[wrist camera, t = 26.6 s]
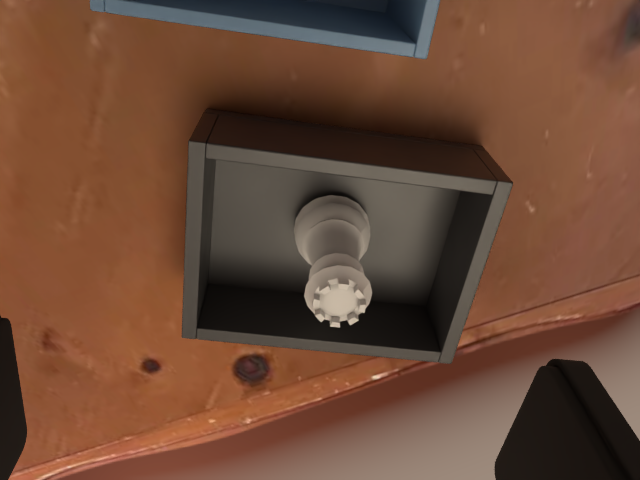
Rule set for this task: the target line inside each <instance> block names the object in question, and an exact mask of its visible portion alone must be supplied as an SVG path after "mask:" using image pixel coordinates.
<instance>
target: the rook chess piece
mask: <svg viewBox="0 0 640 480" xmlns="http://www.w3.org/2000/svg"><path fill="white" fill-rule="evenodd" d="M294 234H295V241H296V245H297V248H298V251H299V253H300V254H301V256H302V257H303V258H304V259H305V260H306V261H307V262H308V263H309V264H310V265H312V267H311V269H310V273H309V281H308V283H307V284H306V288H305V294H304V297H305V300H306V303H307V306H308V308H309V309H310V310H311V311H312V312H313V313H314V314H315V316H316V317H317V319H318V320H319V321H320V322H322V321H323V320H324V319H325V320H329V321H330V327H339V328H340V321H345V320H348V322H349V324H350V325H352V324H354V323H355V322H357V321H359V319H358V315H359V314H361V313H365V309H366V307H367V306H368V305H369V303H370V300H371V296H372V289H371V285H370V281H369V280H368V279H367V278H366V277H365V275H364V271H363V267H362V266H361V264H360V263H359V260H360V259H361V258H362V256H363V255H364V254H365V252H366V251H367V248H368V244H369V240H370V225H369V221H368V216H367V214H366V213H365V211H364V210H363V209H362V208H361V206H360V205H359V204H358V203H356V202H354V201H352V200H350V199H349V198H347V197H342V196H334V195H329V196H324V197H320V198H316V199H314V200H313V201H311V202H310V203H308V204H307V205H305V206H304V207H303V208H302V210H301V211H300V213H299V214H298V216H297V217H296V220H295V227H294Z"/></svg>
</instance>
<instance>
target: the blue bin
mask: <svg viewBox="0 0 640 480" xmlns="http://www.w3.org/2000/svg"><path fill="white" fill-rule="evenodd" d="M439 3H440V0H90V9H91V10H92V11H98V12H106V13H112V14H119V15H125V16H132V17H139V18H146V19H153V20H160V21H167V22H174V23H180V24H187V25H194V26H201V27H208V28H215V29H222V30H229V31H235V32H242V33H249V34H256V35H263V36H270V37H277V38H283V39H290V40H297V41H304V42H311V43H318V44H325V45H332V46H338V47H345V48H352V49H359V50H366V51H373V52H380V53H386V54H393V55H400V56H407V57H415V58H421V59H426V58H427V56H428V51H429V47H430V42H431V38H432V34H433V29H434V25H435V21H436V16H437V12H438V8H439Z"/></svg>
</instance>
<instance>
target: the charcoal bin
mask: <svg viewBox="0 0 640 480" xmlns="http://www.w3.org/2000/svg"><path fill="white" fill-rule="evenodd" d="M512 186H513V182H512V181H511V180H510V178H509V177H508V176H507V175H506V174H505V172H504V171H503V170H502V169H501V168H500V166H499V165H498V164H497V163H496V162H495V160H494V159H493V158H492V157H491V156H490V154H489V153H488V152H487V151H486V150H485V149H484V147H483V146H478V145H471V144H463V143H456V142H449V141H441V140H434V139H426V138H419V137H412V136H404V135H397V134H390V133H382V132H375V131H368V130H360V129H353V128H346V127H338V126H331V125H324V124H316V123H309V122H302V121H294V120H287V119H280V118H272V117H265V116H258V115H250V114H243V113H236V112H228V111H221V110H213V109H206V110H205V112H204V113H203V115H202V117H201V119H200V121H199V123H198V125H197V126H196V128H195V130H194V132H193V134H192V136H191V138H190V139H189V141H188V170H187V199H186V228H185V257H184V286H183V315H182V338H189V339H196V338H197V339H200V340H211V341H221V342H231V343H242V344H252V345H262V346H273V347H283V348H293V349H304V350H314V351H325V352H335V353H345V354H356V355H366V356H376V357H387V358H397V359H407V360H418V361H428V362H439V363H449V364H451V363H452V360H453V357H454V354H455V351H456V349H457V346H458V343H459V340H460V337H461V334H462V331H463V328H464V325H465V322H466V319H467V317H468V314H469V311H470V308H471V305H472V302H473V299H474V296H475V293H476V290H477V287H478V285H479V282H480V279H481V276H482V273H483V270H484V267H485V264H486V261H487V258H488V255H489V253H490V250H491V247H492V244H493V241H494V238H495V235H496V232H497V229H498V226H499V223H500V221H501V218H502V215H503V212H504V209H505V206H506V203H507V200H508V197H509V194H510V191H511V189H512ZM329 195H334V196H342V197H347V198H349V199H350V200H352V201H354V202H356V203H358V204H359V205H360V206H361V208H362V209H363V210H364V211H365V213H366V214H367V216H368V221H369V225H370V240H369V244H368V248H367V251H366V252H365V254H364V255H363V256H362V258H361V259H360V260H359V263H360V264H361V266H362V267H363V271H364V275H365V277H366V278H367V279H368V280H369V281H370V285H371V289H372V296H371V300H370V303H369V305H368V306H367V307H366V309H365V313H361V314H359V315H358V319H359V321H357V322H355V323H354V324H352V325H350V324H349V322H348V320H345V321H340V328H339V327H330V321H329V320H325V319H324V320H323V321H322V322H320V321H319V320H318V319H317V317H316V316H315V314H314V313H313V312H312V311H311V310H310V309H309V308H308V306H307V303H306V300H305V297H304V294H305V288H306V284H307V283H308V281H309V273H310V269H311V267H312V265H310V264H309V263H308V262H307V261H306V260H305V259H304V258H303V257H302V256H301V254H300V253H299V251H298V248H297V245H296V241H295V234H294V227H295V220H296V217H297V216H298V214H299V213H300V211H301V210H302V208H303V207H304V206H305V205H307V204H308V203H310V202H311V201H313V200H314V199H316V198H320V197H324V196H329Z"/></svg>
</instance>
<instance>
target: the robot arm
mask: <svg viewBox="0 0 640 480" xmlns="http://www.w3.org/2000/svg"><path fill="white" fill-rule="evenodd" d="M26 437H27V426H26V419H25V413H24V406H23V400H22V393H21V387H20V380H19V374H18V367H17V361H16V354H15V348H14V341H13V335H12V328H11V324H10V321H9V319H7V318H1V316H0V480H8V479H9V477H10V475H11V473H12V471H13V469H14V467H15V465H16V463H17V461H18V459H19V457H20V455H21V453H22V451H23V448H24V445H25V442H26ZM495 478H496V480H640V441H639V439H638V438H637V436H636V435H635V433H634V432H633V430H632V429H631V427H630V426H629V424H628V423H627V421H626V420H625V418H624V417H623V415H622V414H621V412H620V411H619V409H618V408H617V406H616V405H615V403H614V402H613V400H612V399H611V397H610V396H609V394H608V393H607V391H606V390H605V388H604V387H603V385H602V384H601V382H600V381H599V379H598V378H597V376H596V375H595V373H594V372H593V370H592V369H591V367H590V366H589V365H588V364H587V363H585V362H583V361H573V360H562V359H552V360H550V361H549V362H548V363H547V365H546V366H542V367H540V368H539V370H538V371H537V373H536V376H535V377H534V380H533V382H532V384H531V386H530V388H529V390H528V393H527V395H526V397H525V399H524V401H523V403H522V406H521V408H520V410H519V412H518V414H517V416H516V418H515V420H514V423H513V425H512V427H511V429H510V431H509V433H508V435H507V438H506V440H505V442H504V444H503V446H502V448H501V451H500V453H499V455H498V457H497V459H496V462H495Z"/></svg>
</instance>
